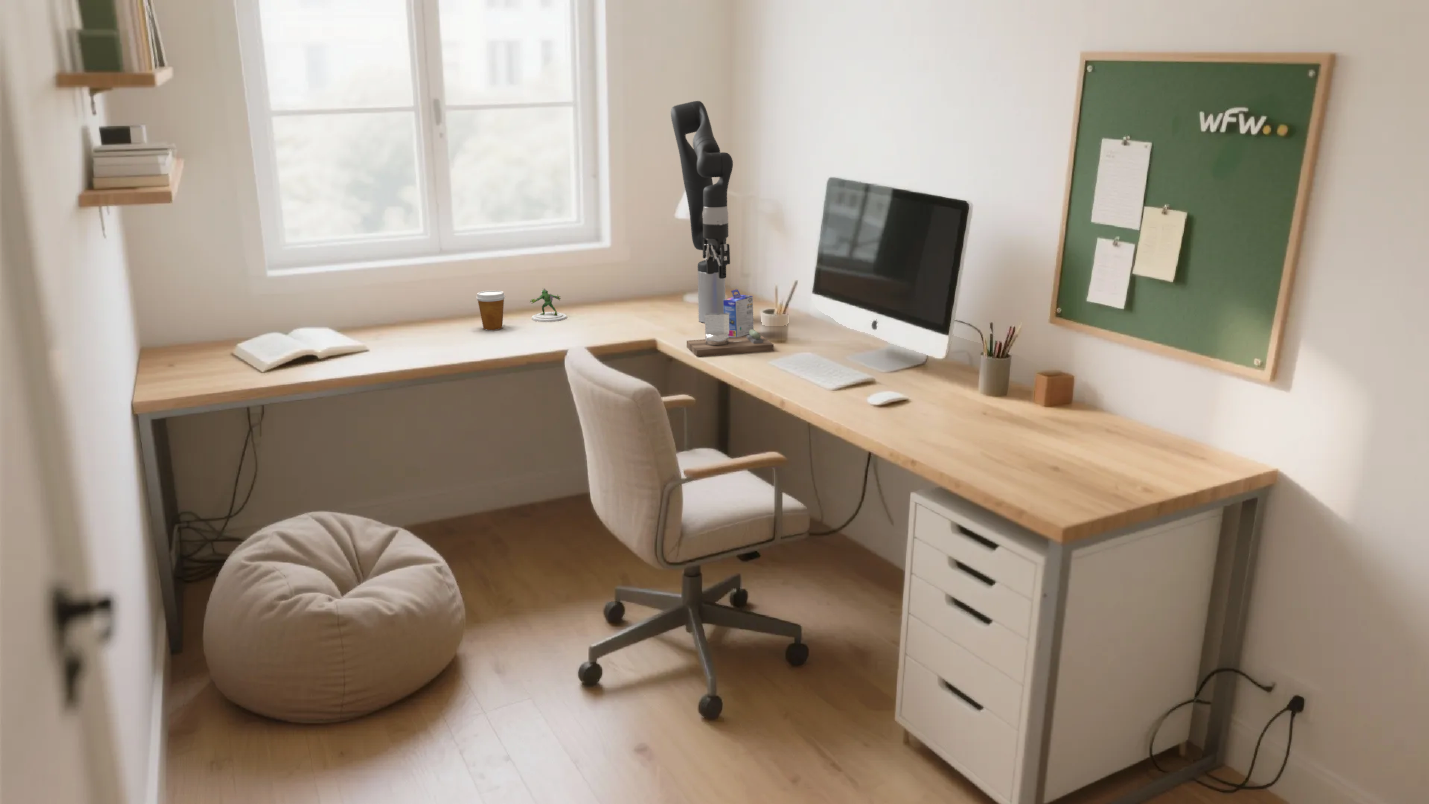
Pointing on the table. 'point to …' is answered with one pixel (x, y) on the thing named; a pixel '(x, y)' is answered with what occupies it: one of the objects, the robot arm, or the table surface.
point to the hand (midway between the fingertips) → (716, 276)
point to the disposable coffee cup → (491, 309)
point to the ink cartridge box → (739, 314)
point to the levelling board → (732, 345)
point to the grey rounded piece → (716, 329)
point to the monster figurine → (548, 315)
